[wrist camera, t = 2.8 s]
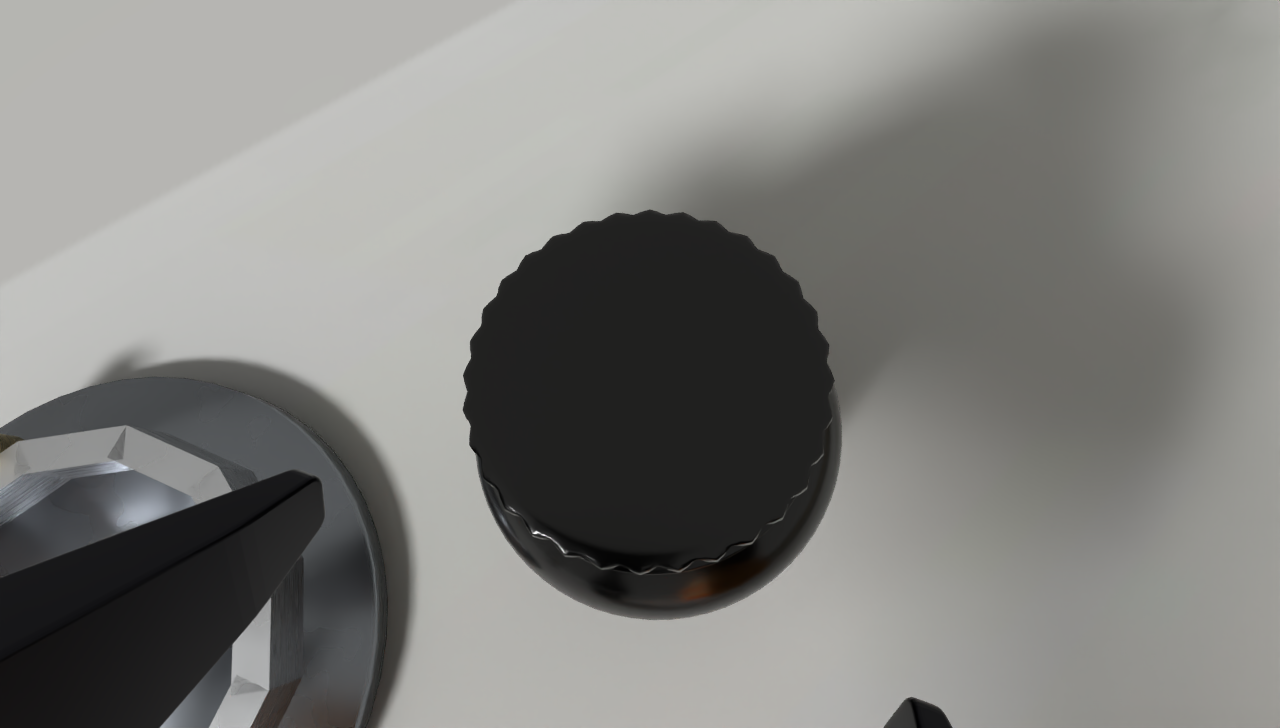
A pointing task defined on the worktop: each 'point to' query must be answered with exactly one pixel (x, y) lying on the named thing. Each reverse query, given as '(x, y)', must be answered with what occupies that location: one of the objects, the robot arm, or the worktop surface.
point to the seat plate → (185, 476)
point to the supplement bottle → (653, 415)
